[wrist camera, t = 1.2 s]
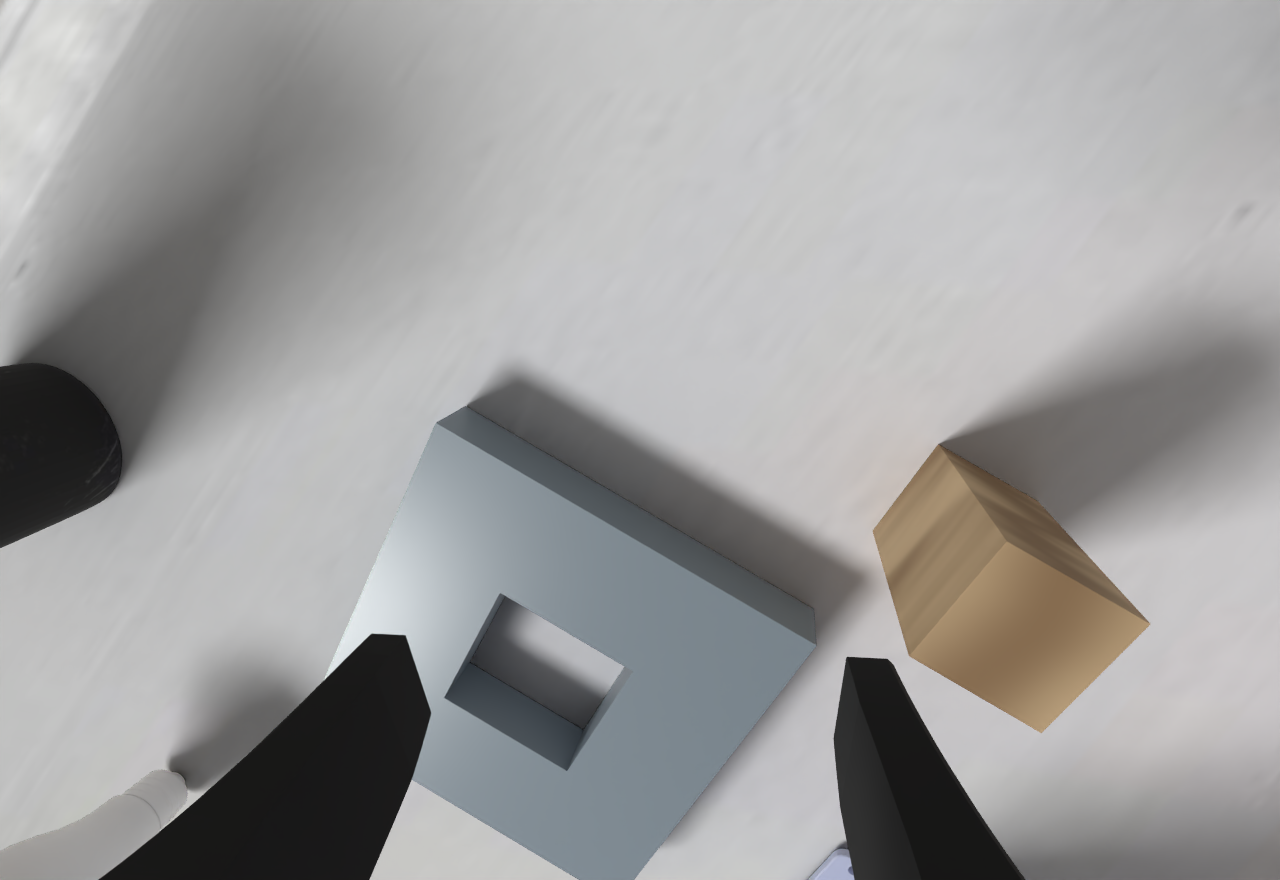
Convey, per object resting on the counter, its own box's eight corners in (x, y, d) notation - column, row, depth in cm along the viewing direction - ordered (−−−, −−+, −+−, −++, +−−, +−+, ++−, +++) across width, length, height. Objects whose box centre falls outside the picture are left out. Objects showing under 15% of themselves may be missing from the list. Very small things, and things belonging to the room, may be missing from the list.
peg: (1037, 501, 24) (1150, 624, 17) (966, 585, 26) (1041, 733, 18) (938, 444, 24) (1006, 541, 17) (872, 531, 26) (908, 655, 18)
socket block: (813, 609, 27) (816, 645, 25) (628, 853, 33) (616, 902, 30) (465, 406, 28) (435, 423, 25) (341, 682, 33) (307, 717, 31)
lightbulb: (130, 715, 37) (-124, 905, 27) (231, 755, 36) (12, 966, 26) (129, 798, 39) (-106, 1005, 29) (225, 838, 38) (20, 1064, 28)
